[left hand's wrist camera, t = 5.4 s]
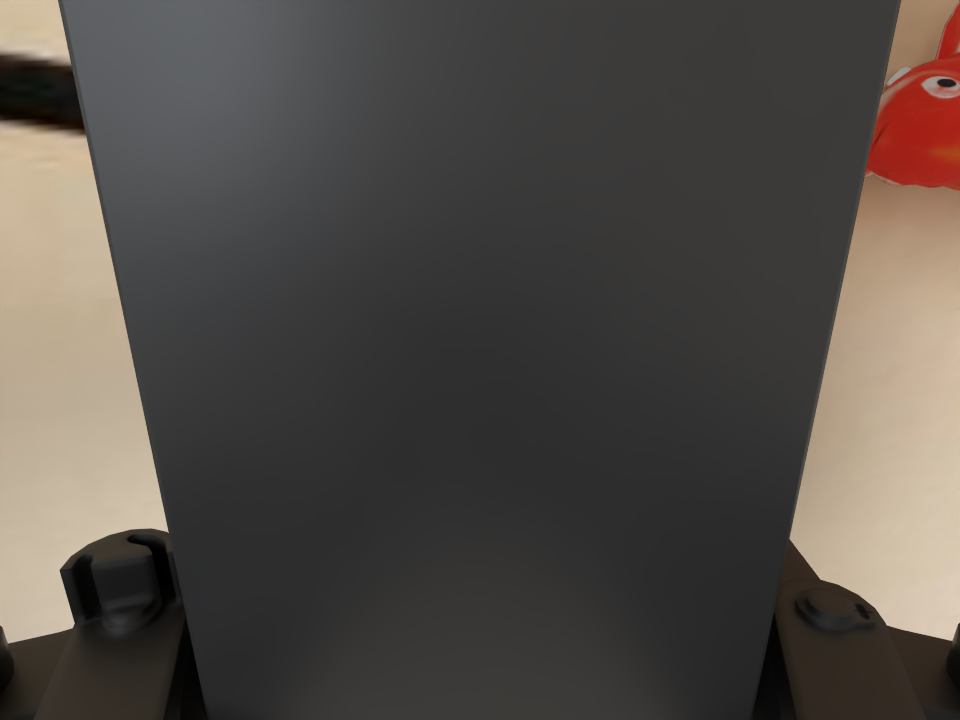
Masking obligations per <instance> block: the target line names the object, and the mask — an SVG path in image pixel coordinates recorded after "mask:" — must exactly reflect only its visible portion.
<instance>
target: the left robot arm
mask: <svg viewBox="0 0 960 720" xmlns="http://www.w3.org/2000/svg"><path fill="white" fill-rule="evenodd" d="M60 573H61V577H62V580H63V584H64V587H65V591H66V594H67V598H68V601H69V605H70V608H71V612H72V615H73V618H74V622H75V624H74V627H73V628H72V629H69V630H65V631H62V632H58V633H54V634H49V635H45V636H41V637H36V638H32V639H27V640H23V641H18V642H14V643H10V644H8V643H7V640H6V637H5V634H4V631H3V628H2V627H1V626H0V720H208V719H207V714H206V709H205V704H204V699H203V694H202V690H201V685H200V680H199V675H198V670H197V666H196V661H195V656H194V651H193V646H192V642H191V637H190V632H189V627H188V622H187V618H186V613H185V608H184V603H183V598H182V594H181V589H180V584H179V579H178V574H177V569H176V565H175V560H174V555H173V550H172V545H171V541H170V536H169V533H168V532H165V531H160V530H156V529H134V530H128V531H124V532H120V533H116V534H112V535H109V536H106V537H104V538H102V539H100V540H97V541H95V542H93V543H91V544H88V545H87V546H85V547H84V548H83V549H81V550H80V551H78V552H77V553H75V554H74V555H72V556H71V557H70V558H69V559H68V561H67V562H66V563H65V564H64V565H63V567H62V568H61V569H60ZM752 720H960V623H959V624H958V627H957V630H956V632H955V635H954V638H953V641H949V640H945V639H940V638H936V637H931V636H927V635H922V634H918V633H914V632H909V631H905V630H900V629H897V628H893V627H890V626H887V625H886V623H885V622H884V620H883V619H882V617H881V616H880V615H879V613H878V612H877V610H876V609H875V608H874V607H873V606H872V605H870V604H869V603H868V602H867V601H865V600H864V599H863V598H861V597H860V596H859V595H857V594H855V593H853V592H851V591H849V590H847V589H845V588H843V587H841V586H839V585H837V584H833V583H830V582H826V581H823V580H820V579H819V577H818V576H817V575H816V573H815V572H814V571H813V569H812V568H811V567H810V565H809V564H808V563H807V561H806V560H805V559H804V558H803V556H802V555H801V554H800V552H799V551H798V550H797V548H796V547H795V546H794V544H793V543H792V542H791V541H790V539H789V542H788V547H787V552H786V556H785V561H784V566H783V571H782V576H781V581H780V585H779V590H778V595H777V600H776V605H775V609H774V614H773V619H772V624H771V629H770V633H769V638H768V643H767V648H766V653H765V658H764V662H763V667H762V672H761V677H760V682H759V686H758V691H757V696H756V701H755V706H754V710H753V715H752Z"/></svg>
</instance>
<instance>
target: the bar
mask: <svg viewBox="0 0 960 720" xmlns="http://www.w3.org/2000/svg"><path fill="white" fill-rule="evenodd" d="M58 2H59V7H60V12H61V16H62V21H63V26H64V31H65V36H66V40H67V45H68V50H69V55H70V60H71V64H72V69H73V74H74V79H75V84H76V89H77V93H78V98H79V103H80V108H81V113H82V117H83V122H84V127H85V132H86V137H87V141H88V146H89V151H90V156H91V161H92V165H93V170H94V175H95V180H96V185H97V190H98V194H99V199H100V204H101V209H102V214H103V218H104V223H105V228H106V233H107V238H108V242H109V247H110V252H111V257H112V262H113V266H114V271H115V276H116V281H117V286H118V291H119V295H120V300H121V305H122V310H123V315H124V319H125V324H126V329H127V334H128V339H129V343H130V348H131V353H132V358H133V363H134V367H135V372H136V377H137V382H138V387H139V392H140V396H141V401H142V406H143V411H144V416H145V420H146V425H147V430H148V435H149V440H150V444H151V449H152V454H153V459H154V464H155V468H156V473H157V478H158V483H159V488H160V493H161V497H162V502H163V507H164V512H165V517H166V521H167V526H168V531H169V536H170V541H171V545H172V550H173V555H174V560H175V565H176V569H177V574H178V579H179V584H180V589H181V594H182V598H183V603H184V608H185V613H186V618H187V622H188V627H189V632H190V637H191V642H192V646H193V651H194V656H195V661H196V666H197V670H198V675H199V680H200V685H201V690H202V694H203V699H204V704H205V709H206V714H207V719H208V720H752V715H753V710H754V706H755V701H756V696H757V691H758V686H759V682H760V677H761V672H762V667H763V662H764V658H765V653H766V648H767V643H768V638H769V633H770V629H771V624H772V619H773V614H774V609H775V605H776V600H777V595H778V590H779V585H780V581H781V576H782V571H783V566H784V561H785V556H786V552H787V547H788V542H789V537H790V532H791V528H792V523H793V518H794V513H795V508H796V504H797V499H798V494H799V489H800V484H801V479H802V475H803V470H804V465H805V460H806V455H807V451H808V446H809V441H810V436H811V431H812V427H813V422H814V417H815V412H816V407H817V402H818V398H819V393H820V388H821V383H822V378H823V374H824V369H825V364H826V359H827V354H828V350H829V345H830V340H831V335H832V330H833V325H834V321H835V316H836V311H837V306H838V301H839V297H840V292H841V287H842V282H843V277H844V273H845V268H846V263H847V258H848V253H849V248H850V244H851V239H852V234H853V229H854V224H855V220H856V215H857V210H858V205H859V200H860V196H861V191H862V186H863V181H864V176H865V171H866V167H867V162H868V157H869V152H870V147H871V143H872V138H873V133H874V128H875V123H876V118H877V114H878V109H879V104H880V99H881V94H882V90H883V85H884V80H885V75H886V70H887V66H888V61H889V56H890V51H891V46H892V41H893V37H894V32H895V27H896V22H897V17H898V13H899V8H900V3H901V0H58Z"/></svg>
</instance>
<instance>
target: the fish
mask: <svg viewBox="0 0 960 720" xmlns="http://www.w3.org/2000/svg"><path fill="white" fill-rule="evenodd" d="M886 85H889V87H888V88H887V89H886V90H885V91H884V93H883V94H882V95H881V99H880V104H879V109H878V114H877V118H876V123H875V128H874V133H873V138H872V143H871V147H870V152H869V157H868V162H867V167H866V171H865V176H864V177H867V176H870V175H873V174H875V175H876V176H877V177H878V179H879V180H881V181H883V182H885V183H887V184H889V185H894V186H902V185H920V186H925V187H940V186H946V187H948V188H951V189H955V190H960V1H959V2H958V4H957V6H956V8H955V9H954V11H953V13H952V14H951V16H950V18H949V19H948V21H947V23H946V25H945V27H944V30H943V34H942V37H941V40H940V44H939V47H938V51H937V54H936V58H935V60H933V61H931V62H928V63H925V64H923V65H920V66H917V67H915V68H913V69H911V68H908V67H903V68H901V69H900V70H899V71H897V72H896V73H895V74H894V75H893V76H892V78H891V79H890V80H889V81H888V82H887V84H886Z"/></svg>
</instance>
